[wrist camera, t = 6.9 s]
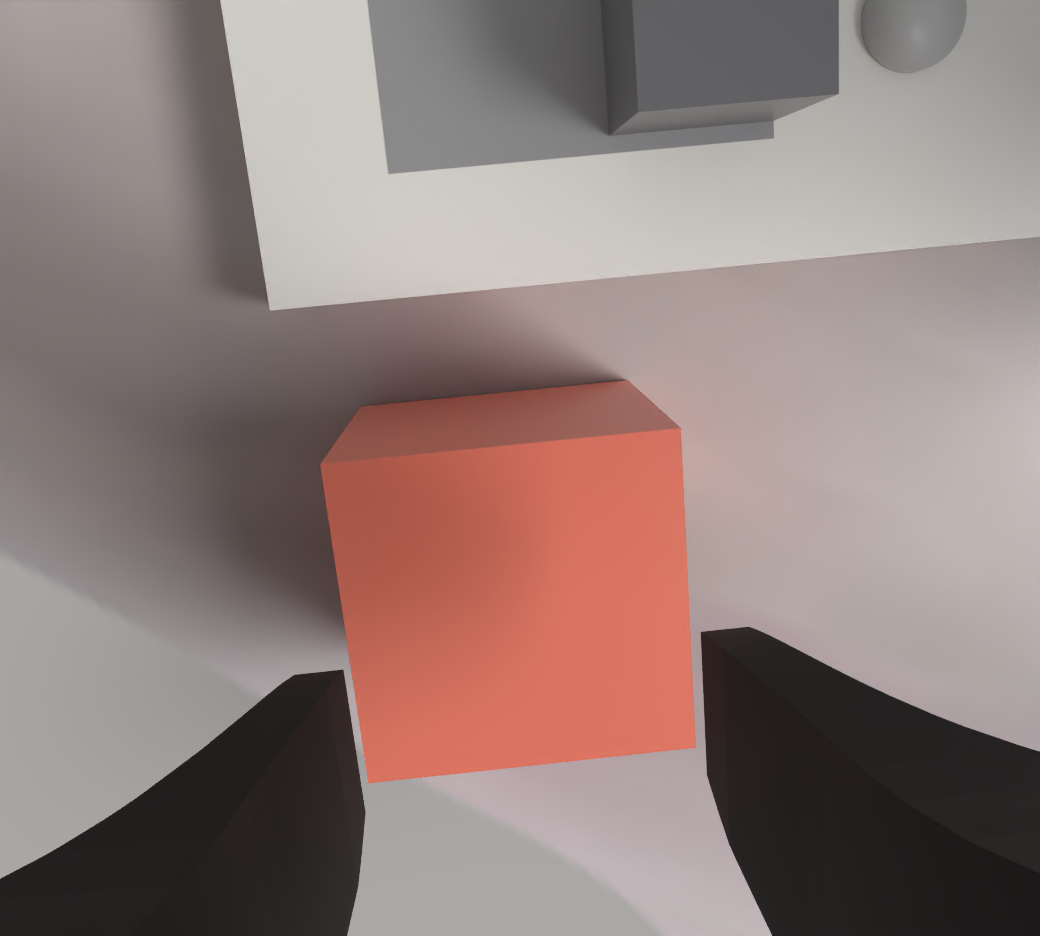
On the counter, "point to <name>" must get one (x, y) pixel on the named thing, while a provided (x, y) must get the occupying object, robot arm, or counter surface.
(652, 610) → the coral red cube
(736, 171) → the breaker panel
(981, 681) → the counter surface
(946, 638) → the counter surface
